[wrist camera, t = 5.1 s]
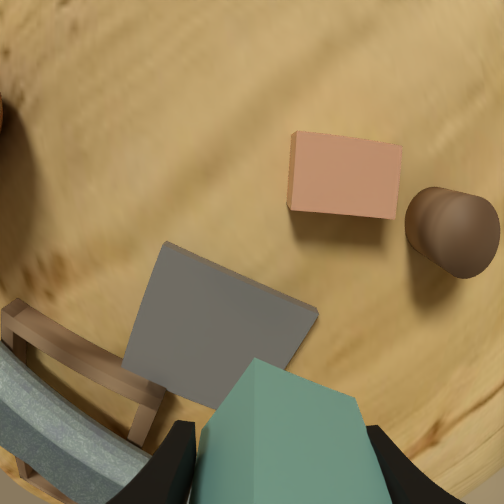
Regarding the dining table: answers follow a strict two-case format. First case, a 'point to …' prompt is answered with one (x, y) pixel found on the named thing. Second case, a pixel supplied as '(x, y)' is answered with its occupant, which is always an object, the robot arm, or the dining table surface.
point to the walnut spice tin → (453, 230)
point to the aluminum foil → (62, 437)
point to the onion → (1, 112)
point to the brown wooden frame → (84, 362)
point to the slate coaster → (210, 327)
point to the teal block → (286, 446)
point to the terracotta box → (343, 175)
